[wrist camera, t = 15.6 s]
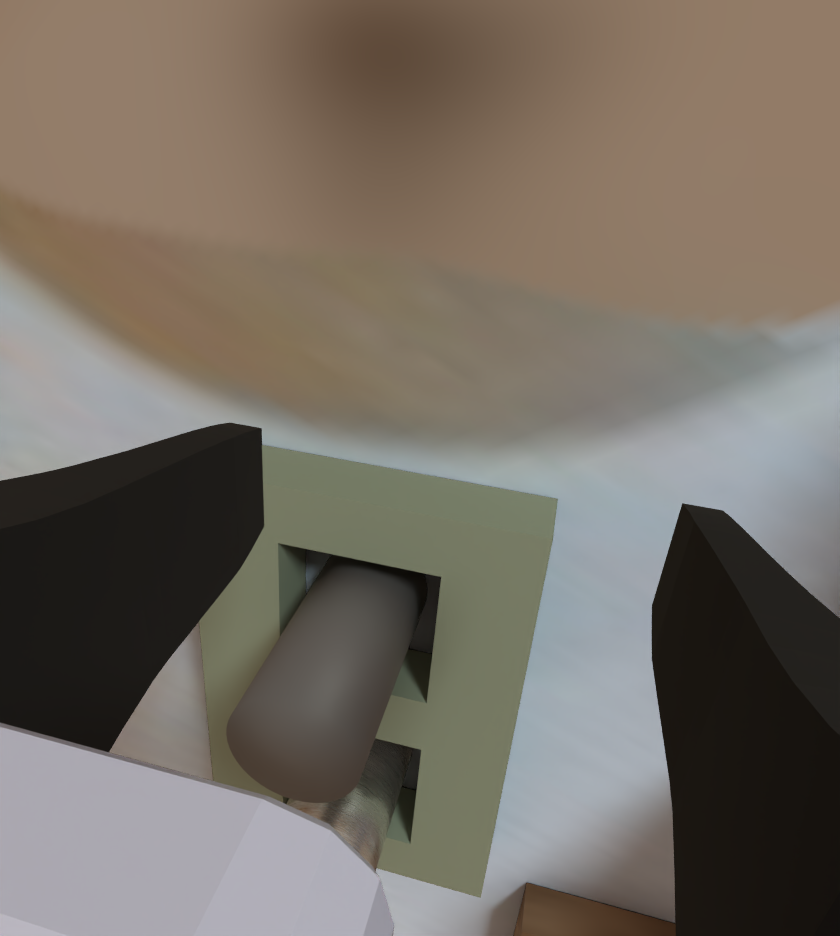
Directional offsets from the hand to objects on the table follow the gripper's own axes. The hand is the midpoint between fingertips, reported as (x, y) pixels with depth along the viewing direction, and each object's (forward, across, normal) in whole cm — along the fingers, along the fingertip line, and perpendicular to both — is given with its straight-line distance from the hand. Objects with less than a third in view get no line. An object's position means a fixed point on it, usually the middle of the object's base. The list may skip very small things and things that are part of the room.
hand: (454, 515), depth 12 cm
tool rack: (+10, +4, +14) cm, 18 cm away
